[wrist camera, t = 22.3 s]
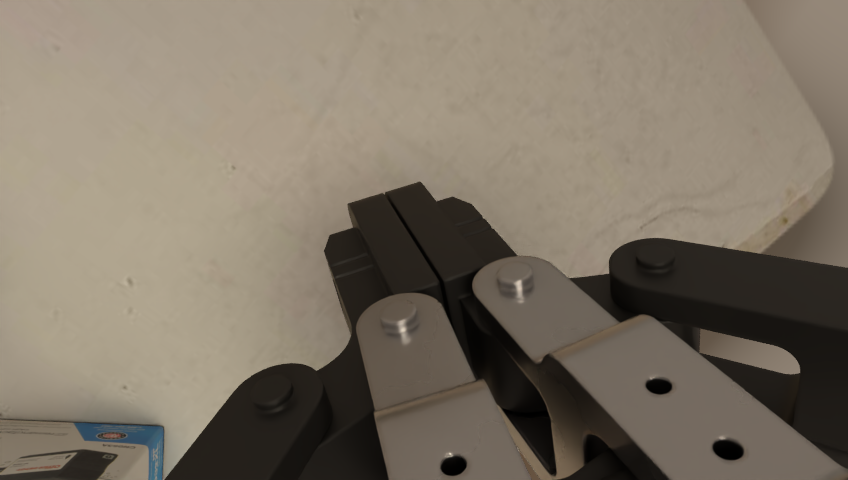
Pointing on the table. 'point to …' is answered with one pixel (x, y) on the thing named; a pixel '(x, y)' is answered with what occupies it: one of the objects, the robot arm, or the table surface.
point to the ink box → (79, 451)
